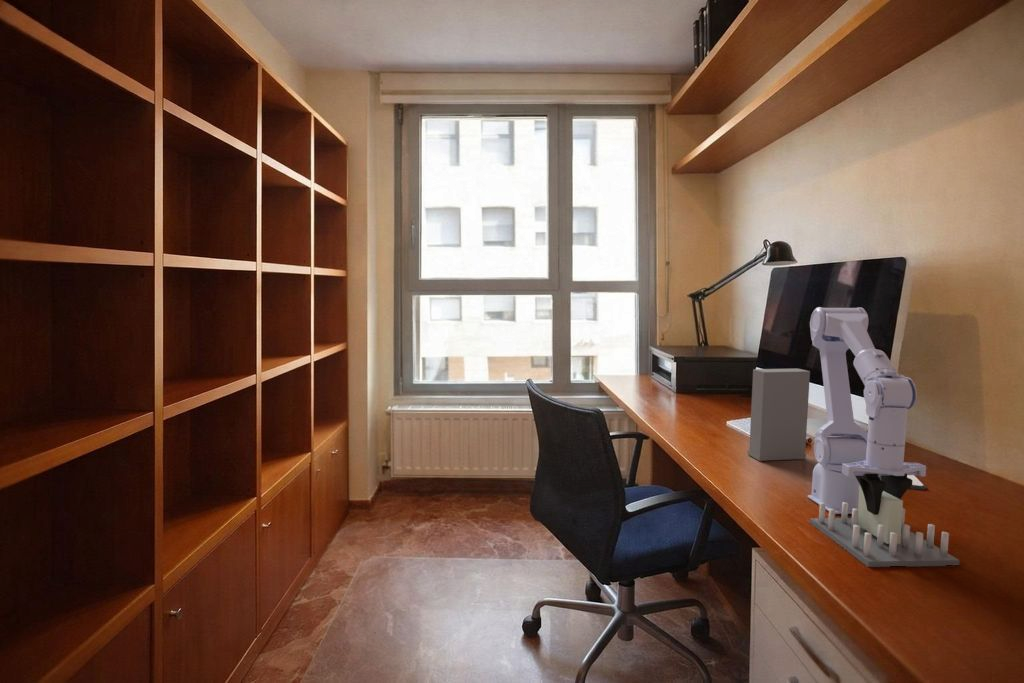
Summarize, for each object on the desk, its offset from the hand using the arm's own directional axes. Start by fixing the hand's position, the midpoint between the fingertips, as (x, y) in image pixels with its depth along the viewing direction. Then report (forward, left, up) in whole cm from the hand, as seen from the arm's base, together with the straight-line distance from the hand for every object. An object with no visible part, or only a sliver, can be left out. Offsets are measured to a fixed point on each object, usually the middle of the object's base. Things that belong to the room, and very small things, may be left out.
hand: (880, 512), depth 98 cm
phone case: (-34, +29, -7) cm, 45 cm away
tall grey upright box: (-50, +7, -6) cm, 51 cm away
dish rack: (0, 0, -6) cm, 6 cm away
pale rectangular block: (0, 0, -4) cm, 4 cm away
